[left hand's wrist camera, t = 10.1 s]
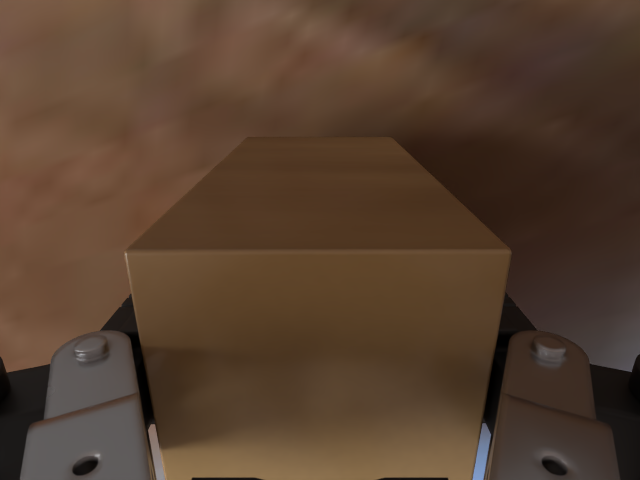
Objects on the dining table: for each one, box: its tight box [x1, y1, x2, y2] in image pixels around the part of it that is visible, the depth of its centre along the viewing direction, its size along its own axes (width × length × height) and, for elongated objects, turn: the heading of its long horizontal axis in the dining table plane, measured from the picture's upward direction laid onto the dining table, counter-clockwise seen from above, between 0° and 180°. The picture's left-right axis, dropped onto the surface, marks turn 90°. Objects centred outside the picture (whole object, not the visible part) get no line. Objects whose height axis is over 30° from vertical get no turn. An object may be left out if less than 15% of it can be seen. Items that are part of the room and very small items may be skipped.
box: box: [124, 137, 512, 480], centre depth 16 cm, size 20×6×12 cm, turn 0°
